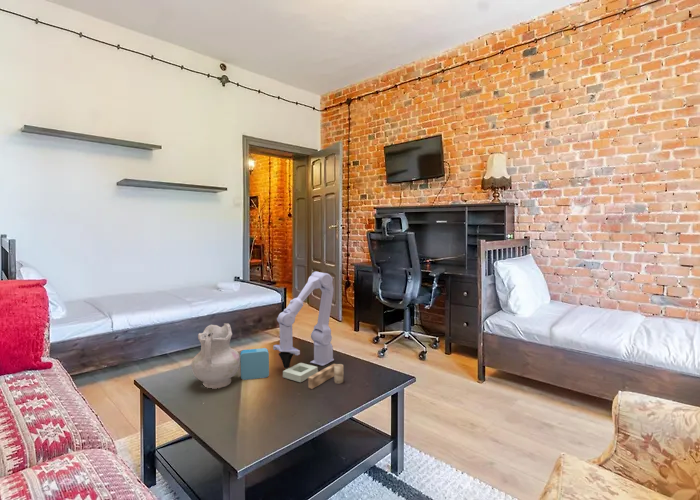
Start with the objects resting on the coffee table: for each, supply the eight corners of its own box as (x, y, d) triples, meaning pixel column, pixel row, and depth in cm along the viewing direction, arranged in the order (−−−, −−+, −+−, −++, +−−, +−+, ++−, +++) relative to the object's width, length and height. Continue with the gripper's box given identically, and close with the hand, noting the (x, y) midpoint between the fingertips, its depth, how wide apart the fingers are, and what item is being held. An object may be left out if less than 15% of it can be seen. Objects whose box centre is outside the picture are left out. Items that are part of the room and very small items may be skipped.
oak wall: (333, 373, 172) (333, 363, 172) (337, 374, 171) (337, 364, 171) (308, 387, 157) (308, 377, 157) (312, 389, 156) (312, 378, 156)
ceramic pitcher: (239, 394, 154) (243, 333, 153) (187, 398, 148) (190, 334, 146) (238, 374, 174) (241, 320, 173) (192, 376, 168) (195, 320, 167)
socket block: (300, 368, 178) (300, 362, 177) (317, 373, 172) (317, 366, 172) (282, 377, 168) (282, 371, 167) (300, 382, 162) (300, 376, 162)
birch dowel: (337, 378, 166) (337, 363, 166) (345, 381, 164) (345, 365, 164) (332, 382, 163) (332, 366, 162) (340, 384, 161) (340, 368, 160)
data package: (268, 373, 172) (268, 347, 171) (269, 377, 168) (268, 350, 167) (240, 376, 169) (240, 350, 168) (240, 380, 165) (240, 353, 164)
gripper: (268, 338, 174) (268, 367, 175) (292, 343, 166) (292, 373, 167) (279, 334, 180) (279, 362, 181) (302, 339, 172) (303, 368, 173)
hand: (286, 367), depth 174 cm, fingers closed
